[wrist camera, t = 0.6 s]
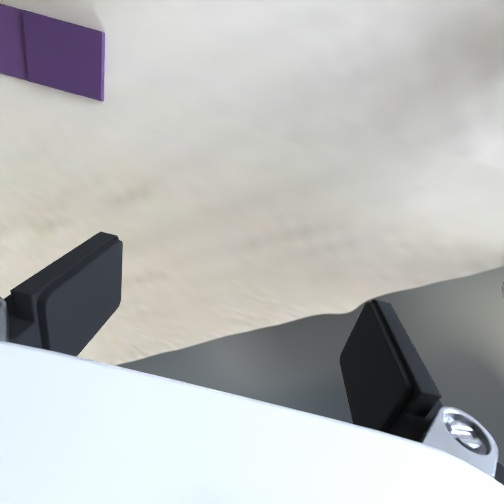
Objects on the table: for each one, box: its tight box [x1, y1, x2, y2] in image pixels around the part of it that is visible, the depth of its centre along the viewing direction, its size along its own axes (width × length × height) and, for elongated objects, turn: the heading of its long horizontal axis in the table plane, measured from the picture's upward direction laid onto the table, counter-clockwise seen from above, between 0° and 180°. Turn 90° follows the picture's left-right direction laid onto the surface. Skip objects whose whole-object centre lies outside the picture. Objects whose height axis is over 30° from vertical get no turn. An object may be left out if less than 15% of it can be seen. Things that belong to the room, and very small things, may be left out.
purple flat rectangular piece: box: [0, 4, 105, 101], centre depth 34 cm, size 7×18×1 cm, turn 76°
